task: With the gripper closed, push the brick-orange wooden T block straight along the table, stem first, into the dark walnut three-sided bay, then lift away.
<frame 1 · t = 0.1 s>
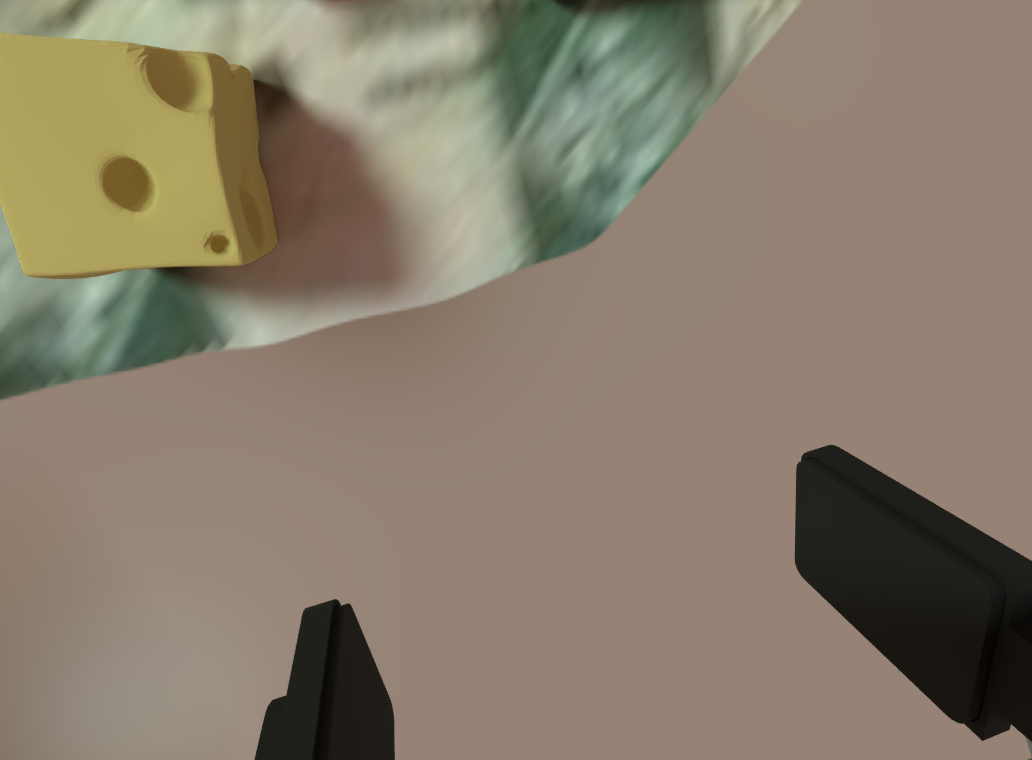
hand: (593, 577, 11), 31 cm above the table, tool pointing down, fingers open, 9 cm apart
cheese: (183, 170, 33), on the table
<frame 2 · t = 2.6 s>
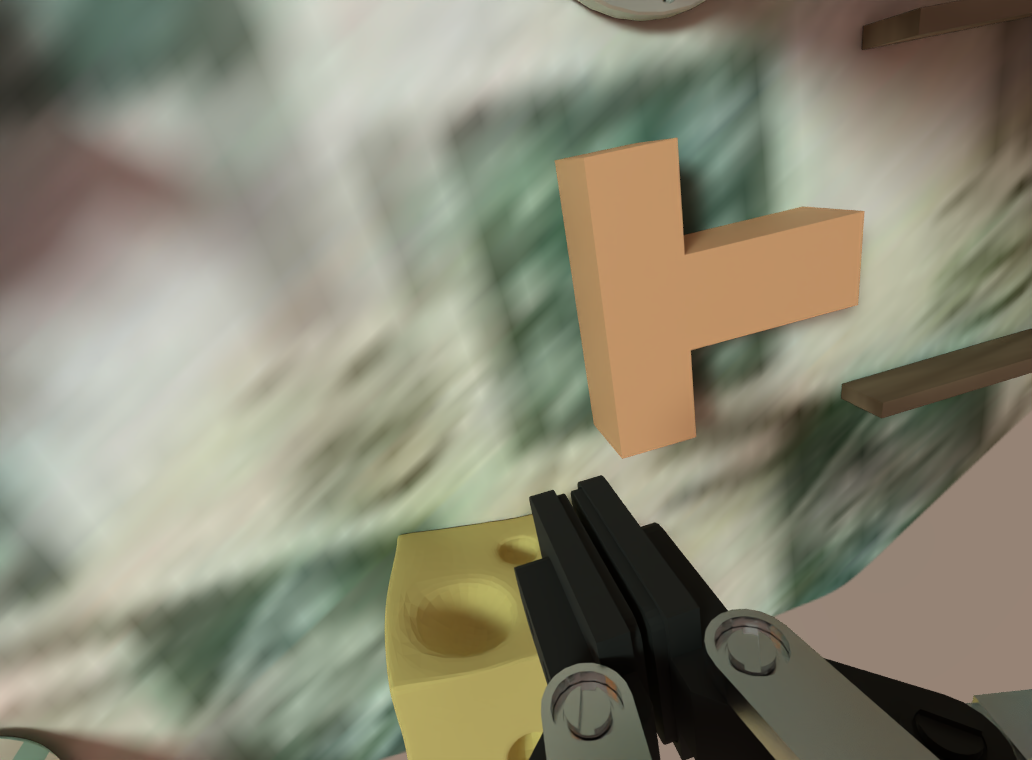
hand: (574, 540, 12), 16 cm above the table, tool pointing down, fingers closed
t block: (692, 276, 28), on the table
bay: (969, 207, 30), on the table
cheese: (481, 586, 33), on the table
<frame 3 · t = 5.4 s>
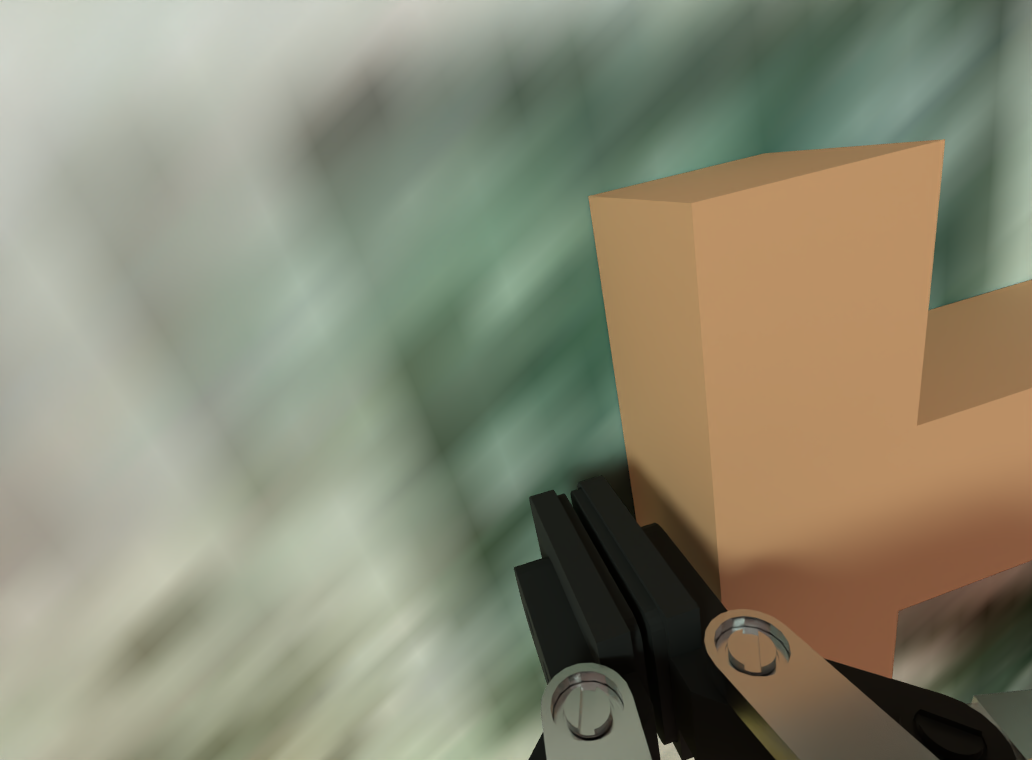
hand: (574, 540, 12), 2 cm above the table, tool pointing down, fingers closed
t block: (853, 409, 14), on the table, touching gripper
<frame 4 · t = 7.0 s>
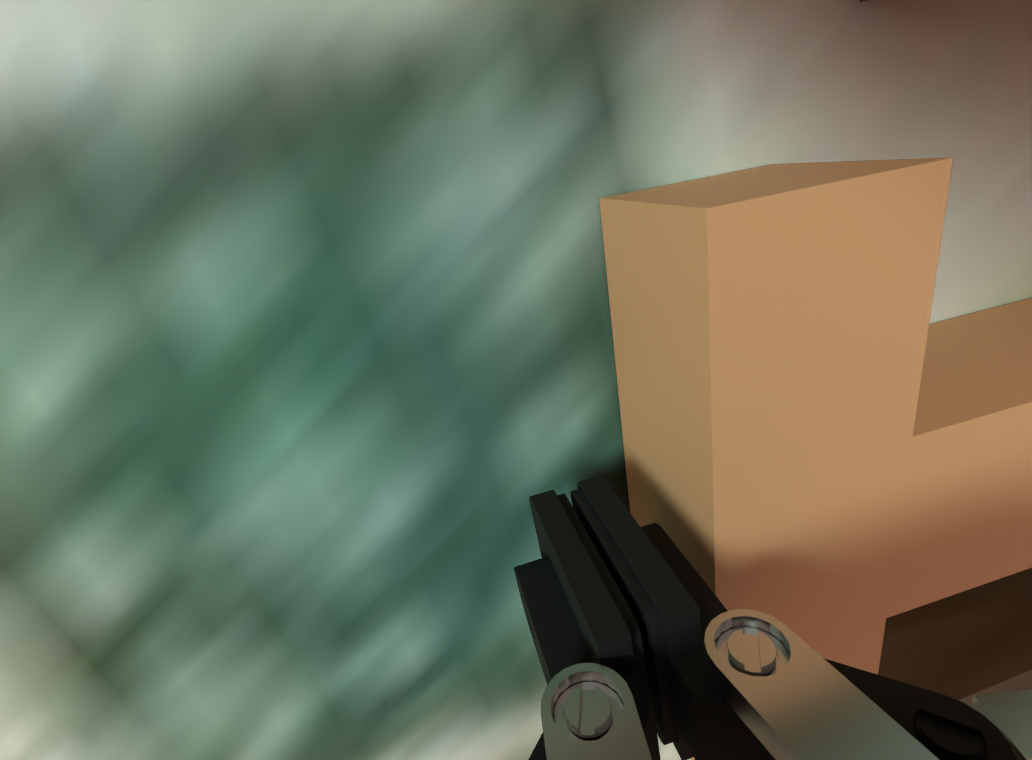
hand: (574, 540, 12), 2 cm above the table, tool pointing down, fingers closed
t block: (847, 420, 15), on the table, touching gripper
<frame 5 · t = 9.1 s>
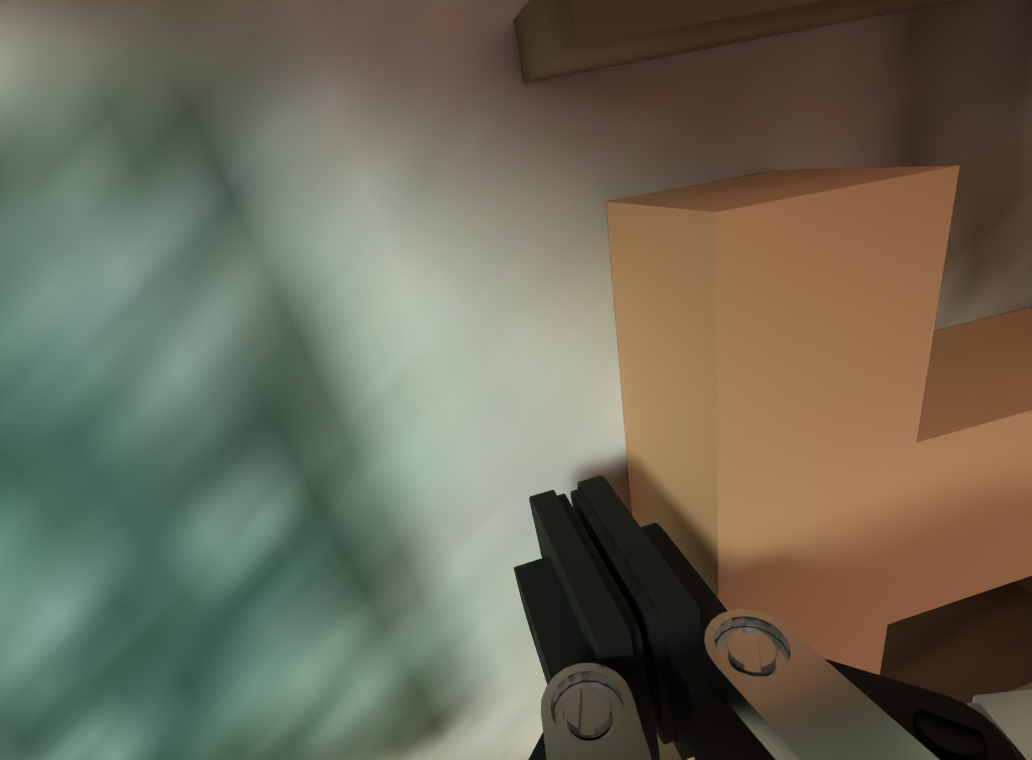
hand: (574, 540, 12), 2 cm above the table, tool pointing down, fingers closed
t block: (849, 426, 15), on the table, touching gripper
bay: (859, 403, 14), on the table
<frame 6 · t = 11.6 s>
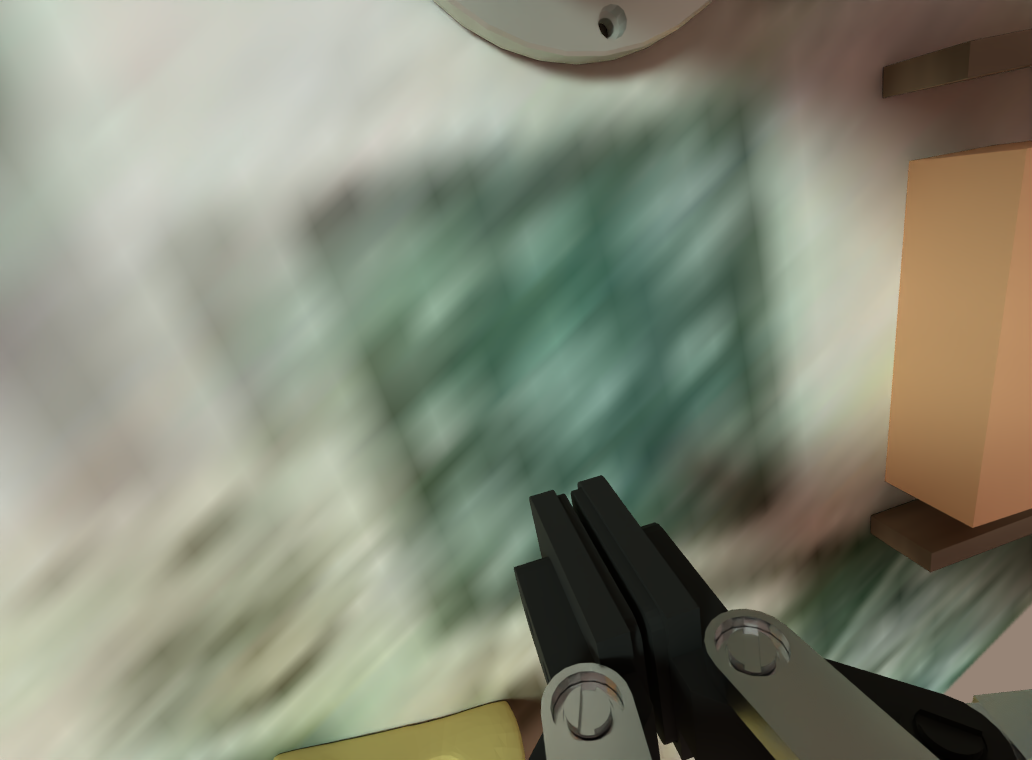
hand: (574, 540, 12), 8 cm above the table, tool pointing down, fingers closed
t block: (1018, 306, 24), on the table
bay: (1026, 291, 23), on the table
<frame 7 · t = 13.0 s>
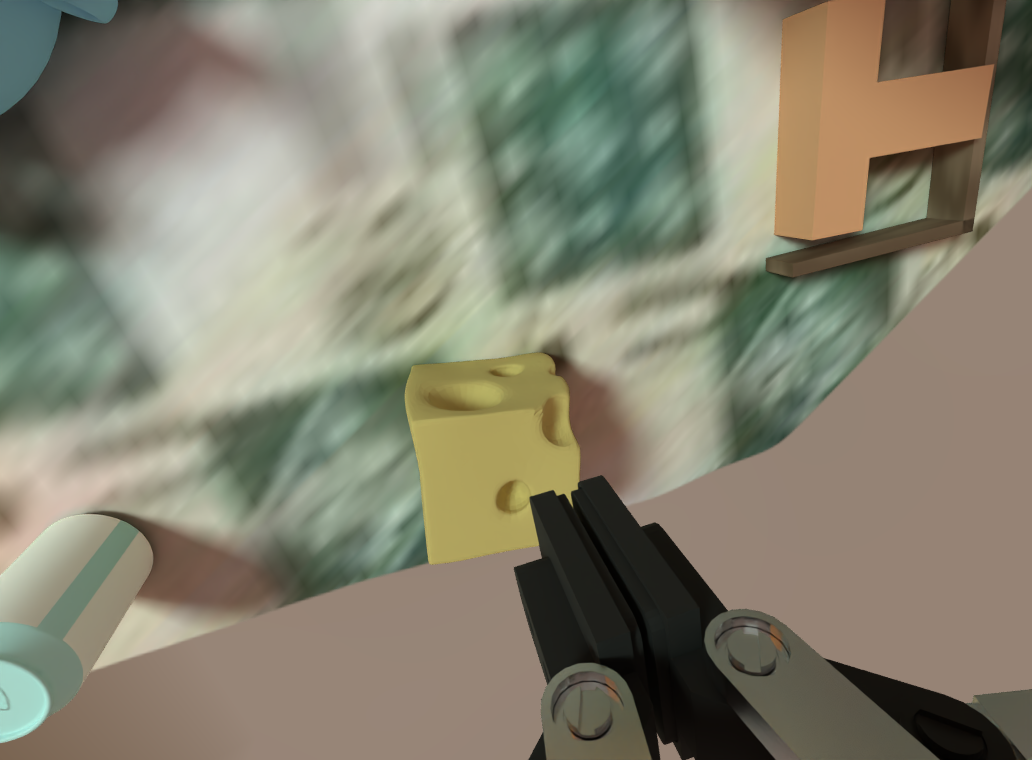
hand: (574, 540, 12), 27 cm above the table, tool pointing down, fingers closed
can: (101, 549, 38), on the table
t block: (857, 121, 39), on the table
bay: (861, 111, 38), on the table
cheese: (477, 419, 41), on the table
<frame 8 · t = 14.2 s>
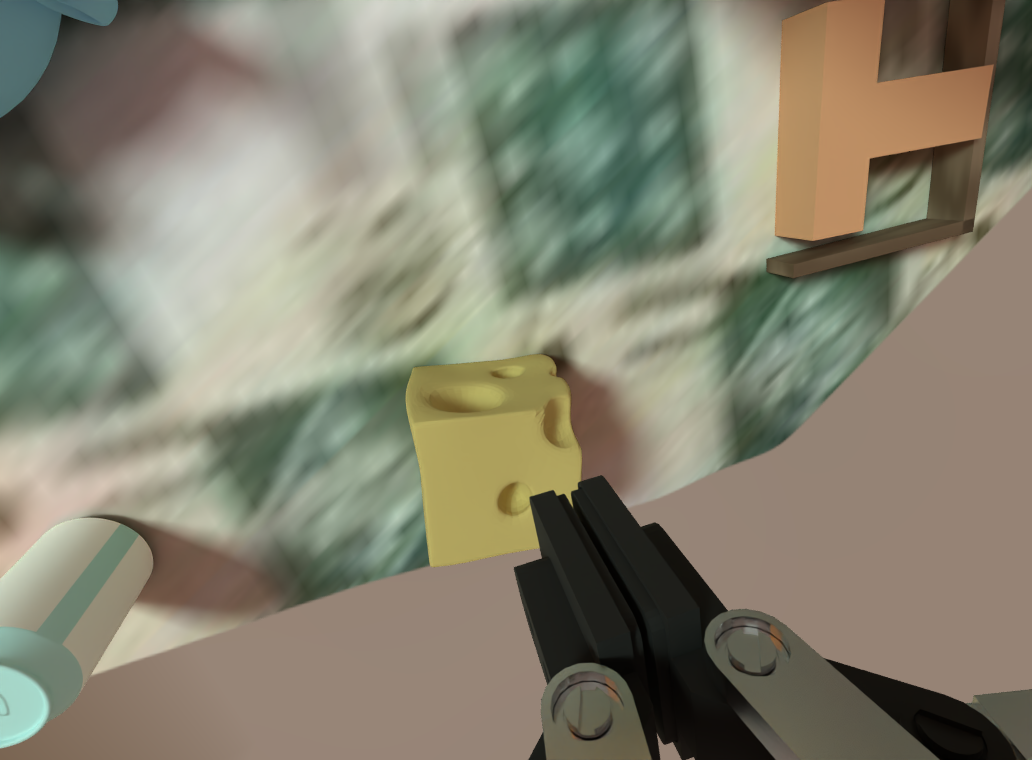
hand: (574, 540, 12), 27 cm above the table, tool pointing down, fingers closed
can: (101, 552, 37), on the table
t block: (857, 122, 39), on the table
bay: (861, 111, 38), on the table
cheese: (478, 421, 41), on the table
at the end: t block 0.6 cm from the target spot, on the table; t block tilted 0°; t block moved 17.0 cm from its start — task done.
